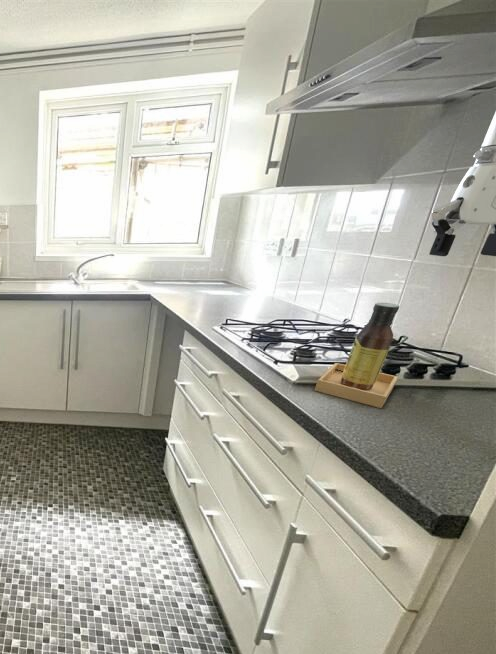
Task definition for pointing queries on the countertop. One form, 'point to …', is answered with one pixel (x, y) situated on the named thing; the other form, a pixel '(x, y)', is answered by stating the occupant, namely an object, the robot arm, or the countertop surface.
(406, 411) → the countertop surface
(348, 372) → the sauce bottle
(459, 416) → the countertop surface
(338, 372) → the serving tray
